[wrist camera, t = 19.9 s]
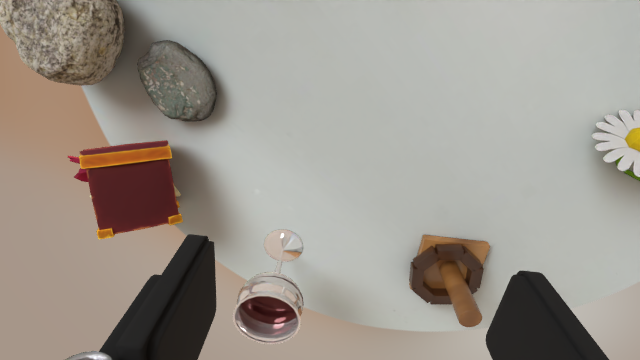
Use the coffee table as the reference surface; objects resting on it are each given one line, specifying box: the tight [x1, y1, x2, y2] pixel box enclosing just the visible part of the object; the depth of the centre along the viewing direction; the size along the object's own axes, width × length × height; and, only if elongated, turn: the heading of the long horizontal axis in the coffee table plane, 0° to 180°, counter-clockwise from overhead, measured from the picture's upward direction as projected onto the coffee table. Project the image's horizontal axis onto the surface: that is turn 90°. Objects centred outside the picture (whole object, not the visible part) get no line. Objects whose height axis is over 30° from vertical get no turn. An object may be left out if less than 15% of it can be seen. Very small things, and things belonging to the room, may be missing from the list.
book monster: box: [68, 140, 183, 239], centre depth 38 cm, size 11×9×12 cm
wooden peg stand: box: [409, 235, 490, 327], centre depth 41 cm, size 8×8×9 cm
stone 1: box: [0, 0, 125, 85], centre depth 32 cm, size 6×10×10 cm
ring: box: [409, 244, 484, 304], centre depth 44 cm, size 8×8×1 cm
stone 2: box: [137, 40, 217, 121], centre depth 36 cm, size 7×8×2 cm
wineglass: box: [233, 230, 303, 344], centre depth 40 cm, size 7×7×12 cm
